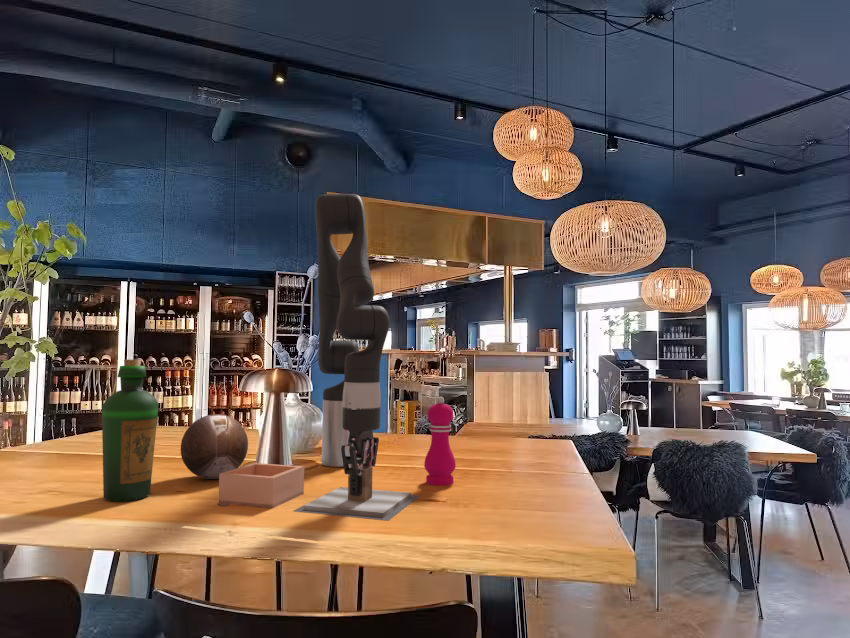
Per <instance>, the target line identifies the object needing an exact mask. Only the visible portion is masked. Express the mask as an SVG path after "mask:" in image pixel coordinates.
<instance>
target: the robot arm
mask: <svg viewBox="0 0 850 638" xmlns="http://www.w3.org/2000/svg"><path fill="white" fill-rule="evenodd" d="M314 215H315V216H314V217H315V231H316V241H317V242H316V243H317V257H318V264H317V265H318V266H317V267H318V268H317V271H318V274H317V275H318V276H317V297H318V298H317V299H318V311H319V313H318V314H319V315H318V316H319V317H318V318H319V331H318V333H319V334H318V335H319V336H318V355H317V361H318V362H317V363H318V368H319V371H320V372H321V373H322V374H326V375H344V380H342V381H340V382H339V383H337V384H335V385H332V386H329V387H327V388H324V389H323V392H322V422H321V423H322V424H321V425H322V427H321V428H322V431H321V465H323V466H326V467H331V468H334V467H336V468H337V467H339V468H340V467H343V471H344V475H349V476H350V495H352V496H360V495H361V494H362V470H363V466H368V467H372V468H373V467H375V466H376V462H377V456H378V449H379V441H380V439H379V437H378V436H377V437H376V436H374V431H377V430H379V429H380V427H381V399H382V398H381V397H382V396H381V385H380V379H381V378H380V376H381V375H380V374H381V371H380V370H381V369H380V368H381V360H382V354H383V350H384V345H385V341H386V339H387V336H388V333H389V329H390V324H391V323H390V315H389V313H388V310H386V309H385V308H384V307H383V306H381V305H368V303H370V302H371V301H372V300H373V298H374V295H375V290H374V284H373V279H372V275H371V271H370V270H371V269H370V265H369V256H368V237H367V234H368V233H367V223H366V222H367V221H366V211H365V206H364V203H363V200H362V198H361V196H360V195H358V194H357V193H356V194H355V193H325V194H320V195H318V196H316V200H315V205H314ZM332 235H333V236H334V235H352V237H351V240H350V242H349V244H348V246H347V248H346V249H345V251H344V252H343V254H342V255H341V256H340V255H339V254H338V252H337V250H336V248H335V247H334V244H333V242H332V240H331V237H332ZM336 331H337V333H338V334H339V336H340V337H342V338H343V339H344V340H343V339H342V340H339V339H335V340H334V339H333V336H334V334H335V333H336ZM332 339H333V340H332ZM355 340H356V341H368V343H367V345H366V347H364V349H362V350H360V349H359V344H358V343H357V342H356V341H355Z"/></svg>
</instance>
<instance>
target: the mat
mask: <svg viewBox="0 0 850 638" xmlns="http://www.w3.org/2000/svg"><path fill="white" fill-rule="evenodd" d="M420 497H421V495H418V494H411V497H410V498H409V499H408V500H406V501H405V502H404V503H402V504H401V505H400V506H398V507H397V508H396V509H394V510H393V511H392V512H390V513H389V514H388V515H386V516H385V517H373V516H363V515H353V514H343V513H333V512H323V511H312V510H304V505H305V504H304V505H302V506H300V507H299V506H298V507H297V508H295V509H294V510H293V512H297V513H307V514H316V515H324V516H325V515H326V516H327V515H328V516H337V517H344V518H345V517H347V518H356V519H366V520H367V519H368V520H375V521H376V520H377V521H386V522H388V521H391V519H393V518H394V517H395V516H397V515H398V514H399V513H401V512H402V511H403V510H405V509H406V508H407V507H408V506H409V505H411V504H412V503H413V502H414V501H416V500H417V499H418V498H420Z"/></svg>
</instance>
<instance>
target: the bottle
mask: <svg viewBox="0 0 850 638" xmlns="http://www.w3.org/2000/svg"><path fill="white" fill-rule="evenodd" d="M123 361H124V365H120V367H119V369H118V373H117V378H119V379H120V380H119V381H120V390H117V391H115V392H113V393H112V394H111V395H110V396H108V397H107V398H106V399H105V400H104V402H103V403H102V405H101V422H102V423H101V430H102V432H101V434H102V437H101V438H102V478H103V479H102V482H103V485H102V487H103V489H102V490H103V499H105V500H107V501H110V502H118V503H121V502H123V503H124V502H133V501H138V500H142V499H144V498H146V497H147V496H150V494H151V487H152V477H153V476H152V475H153V467H154V466H153V464H154V455H155V444H156V436H157V435H156V434H157V425H158V416H159V415H158V413H159V406H160V405H159V401H158V400H157V398H156V397H155V396H154V395H153V394H151V392H149V391H147V390H144V389H143V385H144V378H147V371H146V366H145V365H141V364H142V359H124V360H123Z"/></svg>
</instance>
